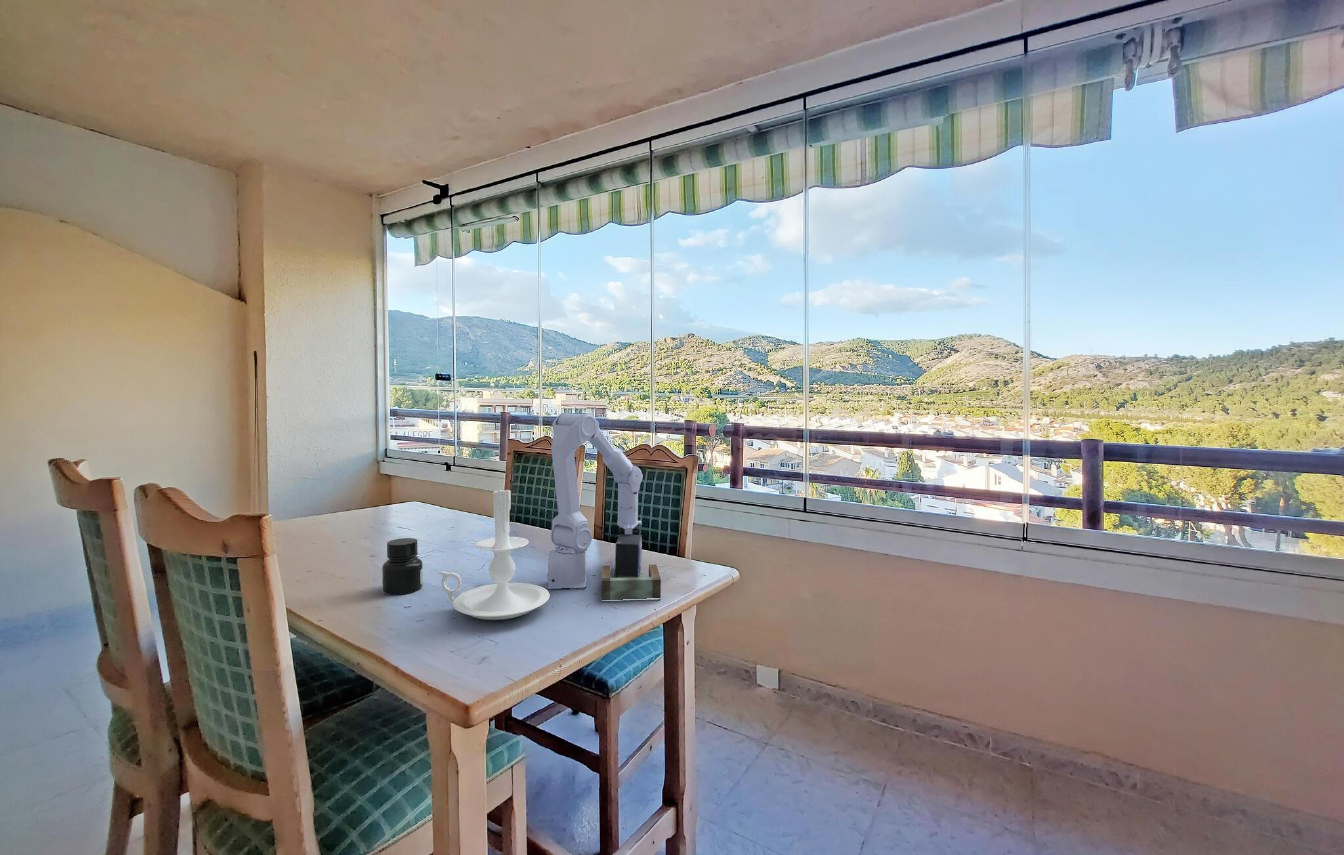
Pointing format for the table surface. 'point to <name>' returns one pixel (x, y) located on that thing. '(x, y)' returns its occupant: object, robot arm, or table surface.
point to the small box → (628, 556)
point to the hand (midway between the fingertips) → (627, 553)
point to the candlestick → (498, 575)
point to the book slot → (631, 585)
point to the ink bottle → (402, 567)
